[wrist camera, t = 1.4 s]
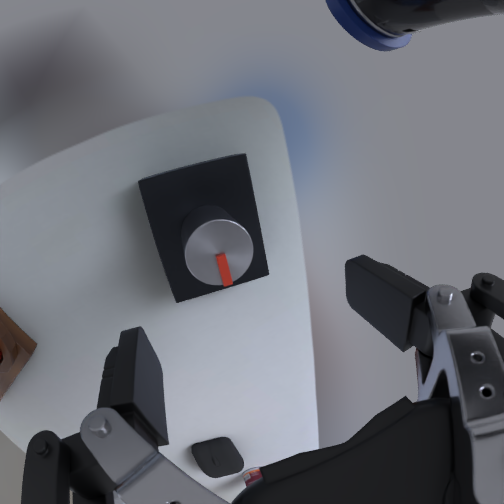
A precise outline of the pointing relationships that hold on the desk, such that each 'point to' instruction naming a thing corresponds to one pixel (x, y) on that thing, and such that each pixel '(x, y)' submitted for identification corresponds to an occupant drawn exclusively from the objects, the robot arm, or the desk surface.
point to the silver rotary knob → (215, 246)
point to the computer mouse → (218, 457)
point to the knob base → (191, 197)
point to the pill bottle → (251, 475)
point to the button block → (12, 351)
